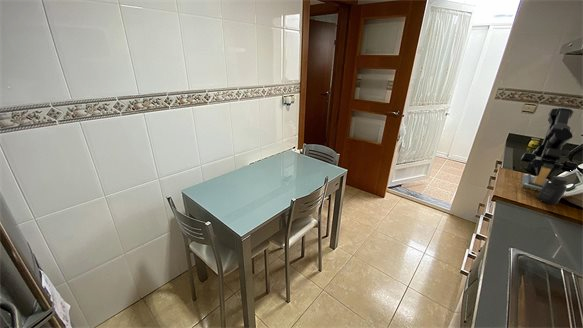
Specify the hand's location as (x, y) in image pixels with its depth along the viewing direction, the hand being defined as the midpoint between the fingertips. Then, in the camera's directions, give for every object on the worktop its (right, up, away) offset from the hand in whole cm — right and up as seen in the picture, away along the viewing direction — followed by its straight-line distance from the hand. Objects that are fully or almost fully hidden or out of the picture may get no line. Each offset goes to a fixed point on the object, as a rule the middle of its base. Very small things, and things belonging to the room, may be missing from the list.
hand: (542, 176), depth 115 cm
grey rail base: (+4, -4, +7) cm, 9 cm away
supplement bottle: (-5, -11, -6) cm, 13 cm away
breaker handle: (+1, -4, +4) cm, 6 cm away
